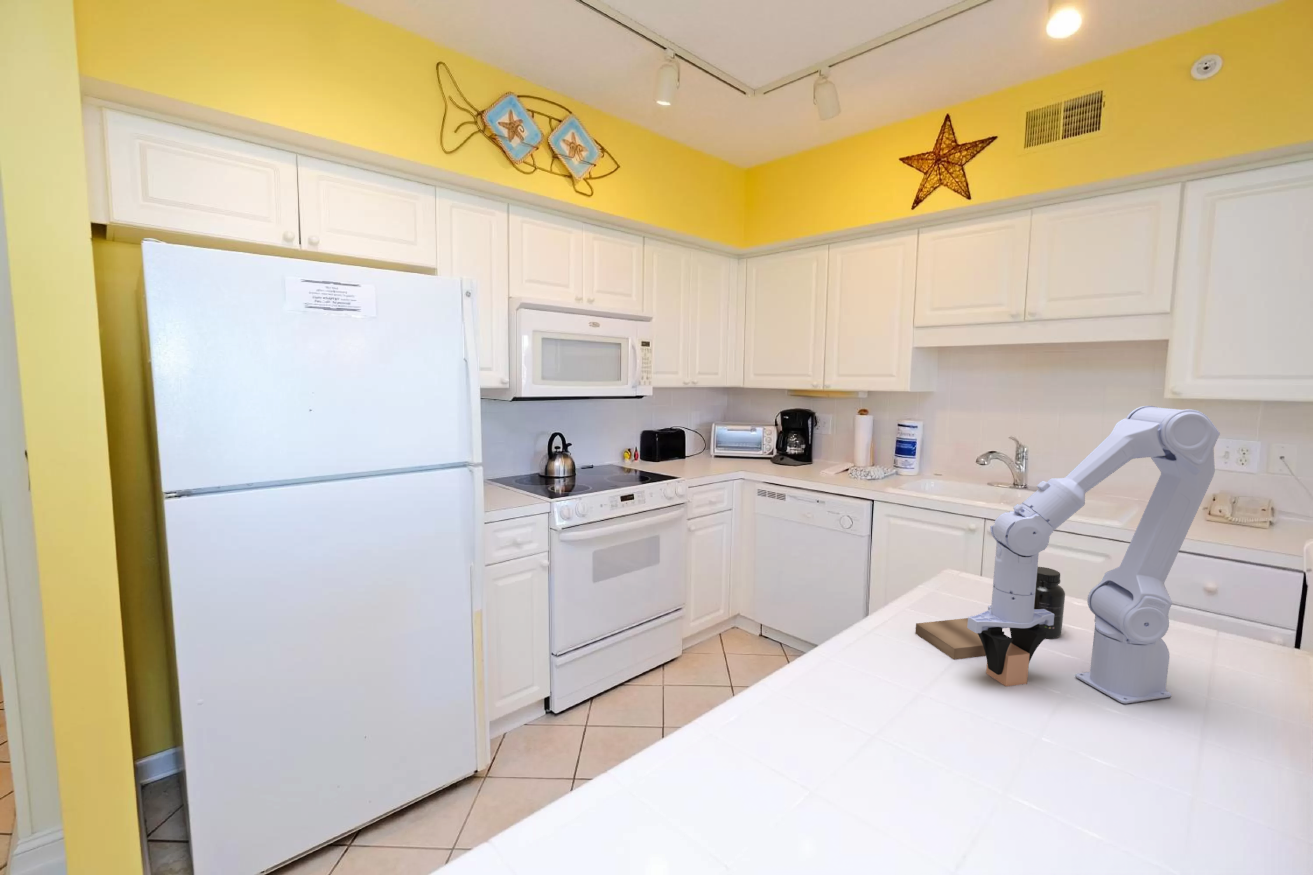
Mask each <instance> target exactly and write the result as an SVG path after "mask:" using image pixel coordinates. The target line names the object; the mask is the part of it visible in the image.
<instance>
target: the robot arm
mask: <svg viewBox="0 0 1313 875" xmlns="http://www.w3.org/2000/svg"><path fill="white" fill-rule="evenodd" d="M1219 436H1221V433H1220V431H1219V430H1218V428H1217V427H1216V425H1215V424H1214V423H1213V421H1212V419H1210V417H1209V416H1208V415H1207V414H1205V413H1203V412H1202V411H1200V410H1197V409H1191V408H1187V409H1186V408H1185V409H1178V408H1168V407H1167V408H1166V407H1158V406H1153V405H1143V406H1142V405H1141V406H1138V407H1137V408H1135V409H1133V410H1131V411H1130V412H1129V413H1128V414H1127V416H1126V417H1125V418H1122V419H1121V420H1119V421H1117V422H1116V424H1115V425H1114V427H1113V429H1112V430H1111V433H1109V434H1108V436H1107V437H1105V439H1103V441H1101V442H1100V443H1099V444H1098V446H1096V447H1095V448H1094V449H1093V450H1092V451H1091V452H1090V453H1089V454H1087V456H1086V457H1085V458H1083V460H1081V461H1080V463H1078V464H1077V465H1076V466H1075V467H1074V469H1072V470H1071V471H1070V472H1068V474H1067V475H1066V476H1065V477H1057V478H1055V477H1052V478H1050V479H1048V480H1047V481H1045V480H1042V481H1040V482H1039V483H1038V484H1036V488H1037V490H1036V491H1034V492H1033V493H1032V494H1030V496H1028V497H1027V498H1026V499H1024V501H1023V502H1022V503H1017V504H1016V505H1014V506H1013V508H1012V509H1013V510H1012V511H1011V510H1009V511H1007V512H1006V511H1005V512H1003V513H1002V514H999V516H998V517H997V518H996V519H995V520H994V522H993V523H994V524H993V525H991V526H990V528H989V529H990V530H989V531H990V534H991V536H992V537H993V539H994V540H995V542H996V546H995V547H996V549H995V557H994V565H993V566H994V567H993V582H992V594H991V605H988V606H987V610H986V611H983V612H981V613H978V614H976V615H972V616H967V618H968V625H967V628H968V629H970V630H971V631H973V632H975V633H978V635H979V637H980V639H981V642H982V644H983V647H984V650H985V654H986V656H985V658H986V665H987V664H988V669H990V670H991V671H993V672H994V673H996V674H997V675H1000V674H1002V672H1003V668H1004V662H1005V656H1006V652H1007V650H1008V647H1009V645H1010V643H1011V642H1012V644H1014V645H1015V646H1017V647H1019V648H1021V649H1022V650H1024V651H1026V652H1028V653H1029V654H1030V656H1029V663H1031V660H1032V657H1033V656H1034V654H1035V652H1036V650H1037V649H1038V647H1039V646H1040V644H1041V643H1042V642H1044V640H1046V639H1047V638H1046V635H1047V632H1046V631H1045V630H1043V629H1041V628H1039V625H1040V624H1046V625H1048V626H1051V625H1053V624H1054V614H1053V613H1051V612H1049V611H1047V610H1045V609H1034V602H1035V591H1036V580H1037V568H1038V567H1039V557H1040V556H1039V555H1040V554H1039V553H1041V552H1043V551H1045V550H1046V549H1047V548H1048V545H1049V544H1050V543H1049V542H1050V536H1051V535H1052V534H1053V533H1054V531H1055V530H1057V529H1058V528H1059V527H1060V526H1061V525H1063V524H1064V523H1065V522H1066V521H1067V520H1069V519H1070V518H1071V517H1072V516H1074V514H1077V512H1078V511H1079V510H1081V509H1082V508H1084V506H1085V504H1086V493H1088V492H1089V491H1091V490H1092V489H1094V488H1095V487H1096V486H1097V485H1099V483H1102V481H1105V479H1107V478H1108V477H1109V476H1111V475H1112V474H1114V473H1116V471H1118V470H1119V469H1120V468H1122V467H1123V466H1124V465H1126V464H1127V463H1129V462H1130V461H1131V460H1135V459H1144V458H1145V459H1146V458H1151V460H1152V462H1153V463H1154V464H1155V466H1156V467H1157V469H1158V470H1159V472H1160V475H1159V478H1158V479H1157V482H1156V485H1155V486H1154V489H1153V491H1152V494H1151V496H1150V498H1149V500H1148V502H1147V505H1146V506H1145V509H1144V510H1143V514H1142V516H1141V518H1140V521H1139V522H1138V525H1137V527H1136V529H1135V531H1134V533H1133V536H1132V539H1131V540H1130V543H1129V545H1128V547H1127V550H1126V551H1125V554H1124V556H1123V558H1122V560H1121V562H1120V565H1119V566H1117V567H1115V568H1113V569H1111V570H1108V571H1106V572H1105V573H1104V575H1103V577H1102V578H1101V580H1100V581H1099V582H1098V583H1097V584H1096V585H1095V586H1093V587H1092V589H1090V591H1089V592H1088V595H1087V598H1086V599H1087V600H1086V601H1087V605H1088V608H1089V610H1090V612H1091V613H1092V614H1093V615H1094V628H1093V629H1094V630H1093V640H1092V649H1091V651H1092V652H1091V660H1090V669H1089V671H1088V672H1087V671H1085V672H1077V673H1075V678H1077V679H1078V680H1080V681H1082V682H1083V683H1085V684H1087V685H1089V686H1090V687H1092V688H1094V689H1095V690H1097V691H1100V692H1102V694H1103V693H1104V694H1105V695H1107V696H1109V697H1111V699H1114V700H1116V701H1118V702H1119V703H1120V704H1121V703H1122V704H1130V703H1137V702H1145V701H1151V700H1157V699H1158V700H1159V699H1164V698H1165V699H1166V698H1171V697H1172V692H1170V691H1168V690H1166V688H1167V680H1168V674H1169V664H1170V651H1169V648H1168V645H1167V643H1166V642H1165V641H1164V640H1163V638H1164V637H1165V636H1166V634H1167V633H1168V631H1169V628H1170V620H1169V618H1170V617H1169V613H1170V609H1171V607H1172V605H1173V601H1172V599H1171V596H1170V593H1169V591H1168V590H1167V588H1166V585H1165V582H1166V581H1167V578H1168V575H1169V573H1170V571H1171V569H1172V568H1173V565H1174V562H1175V561H1176V558H1177V556H1178V554H1179V552H1180V550H1181V548H1182V545H1183V543H1184V541H1185V539H1186V536H1187V535H1188V532H1189V530H1190V528H1191V526H1192V524H1193V521H1194V519H1195V517H1196V515H1197V513H1198V511H1199V509H1200V507H1201V505H1202V502H1203V500H1204V497H1205V496H1206V493H1207V491H1208V489H1209V487H1210V485H1211V482H1212V480H1213V478H1214V475H1215V471H1216V469H1215V467H1216V466H1215V452H1214V448H1215V446H1216V444H1217V442H1218V439H1219ZM1003 629H1009V632H1010V636H1008V635H1006V634H1005V631H1003Z"/></svg>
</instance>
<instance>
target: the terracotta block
mask: <svg viewBox="0 0 1313 875" xmlns="http://www.w3.org/2000/svg"><path fill="white" fill-rule="evenodd" d="M1029 656H1030V654H1029V653H1028V652H1026V651H1024V650H1022V649H1021V648H1019V647H1017V646H1015V645H1014V644H1012V643H1010V645H1009V647H1008V650H1007V652H1006V656H1005V662H1004V668H1003V672H1002V674H1000V675H997V674H996V673H994V672H993V671H991V670H990V669H988V664H987V663H986V670H985V674H986V675H988V676H990V677H991V678H992V679H994V680H996V681H997V682H999V683H1000V684H1001V685H1003V686H1004V687H1010V686H1011V687H1012V686H1019V685H1025V684H1026V685H1027V684H1028V678H1029V676H1028V675H1029V674H1028V673H1029V665H1030V662H1029Z"/></svg>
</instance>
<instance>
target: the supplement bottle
mask: <svg viewBox="0 0 1313 875" xmlns="http://www.w3.org/2000/svg"><path fill="white" fill-rule="evenodd" d="M1060 584H1061V572H1060V571H1058V570H1055V569H1053V568H1049V567H1044V566H1043V567H1042V566H1038V568H1037V580H1036V591H1035V602H1034V609H1045V610H1047V611H1049V612H1051V613H1053V614H1054V624H1053V625H1051V626H1048V625H1046V624H1040V625H1039V628H1041V629H1043V630H1045V631H1046V632H1047V635H1046V638H1045V639H1057V638H1059V637H1060V636H1061V635H1062V631H1063V623H1064V610H1065V601H1066V599H1065V598H1066V591H1065V589H1064V588H1063V587H1062V586H1060Z"/></svg>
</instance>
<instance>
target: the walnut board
mask: <svg viewBox="0 0 1313 875" xmlns="http://www.w3.org/2000/svg"><path fill="white" fill-rule="evenodd" d="M967 625H968V617H965V618H955V619H954V618H953V619H947V620H946V619H945V620H938V621H937V620H936V621H928V622H927V621H926V622H919V623H915V635H917V636H918V637H920V638H921V639H923V640H924V641H926V642H927V643H928V644H930V645H932V646H933V647H934V648H936V649H938V650H939V651H940V652H942V653H943V654H944V655H946V656H948V657H949V658H950V659H952V660H962V659H963V660H964V659H971V658H979V657H980V658H981V657H986V654H985V650H984V647H983V644H982V642H981V639H980V637H979V635H978V633H975V632H973V631H971V630H970V629H968V628H967ZM1011 643H1012V642H1011Z"/></svg>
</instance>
